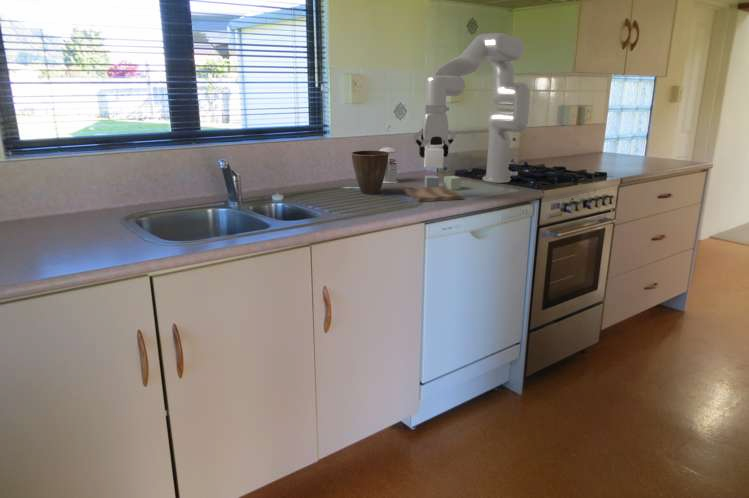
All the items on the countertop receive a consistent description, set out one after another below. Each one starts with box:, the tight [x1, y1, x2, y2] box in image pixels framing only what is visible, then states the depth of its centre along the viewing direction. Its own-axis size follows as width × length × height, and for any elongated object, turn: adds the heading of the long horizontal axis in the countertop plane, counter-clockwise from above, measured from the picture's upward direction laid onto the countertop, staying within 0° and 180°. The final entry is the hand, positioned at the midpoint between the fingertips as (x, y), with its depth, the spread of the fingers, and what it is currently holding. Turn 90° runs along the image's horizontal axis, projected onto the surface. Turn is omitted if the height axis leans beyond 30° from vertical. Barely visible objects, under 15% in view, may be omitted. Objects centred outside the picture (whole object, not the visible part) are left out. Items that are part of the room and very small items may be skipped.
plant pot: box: [351, 150, 390, 195], centre depth 211 cm, size 15×15×16 cm
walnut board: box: [403, 186, 464, 203], centre depth 207 cm, size 18×18×2 cm
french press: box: [378, 124, 399, 184], centre depth 230 cm, size 10×12×25 cm
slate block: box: [424, 175, 440, 188], centre depth 220 cm, size 5×5×5 cm
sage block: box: [443, 175, 462, 191], centre depth 220 cm, size 5×5×5 cm
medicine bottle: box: [423, 137, 445, 169], centre depth 202 cm, size 7×7×12 cm
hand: (433, 156), depth 202 cm, fingers closed on medicine bottle, 8 cm apart
